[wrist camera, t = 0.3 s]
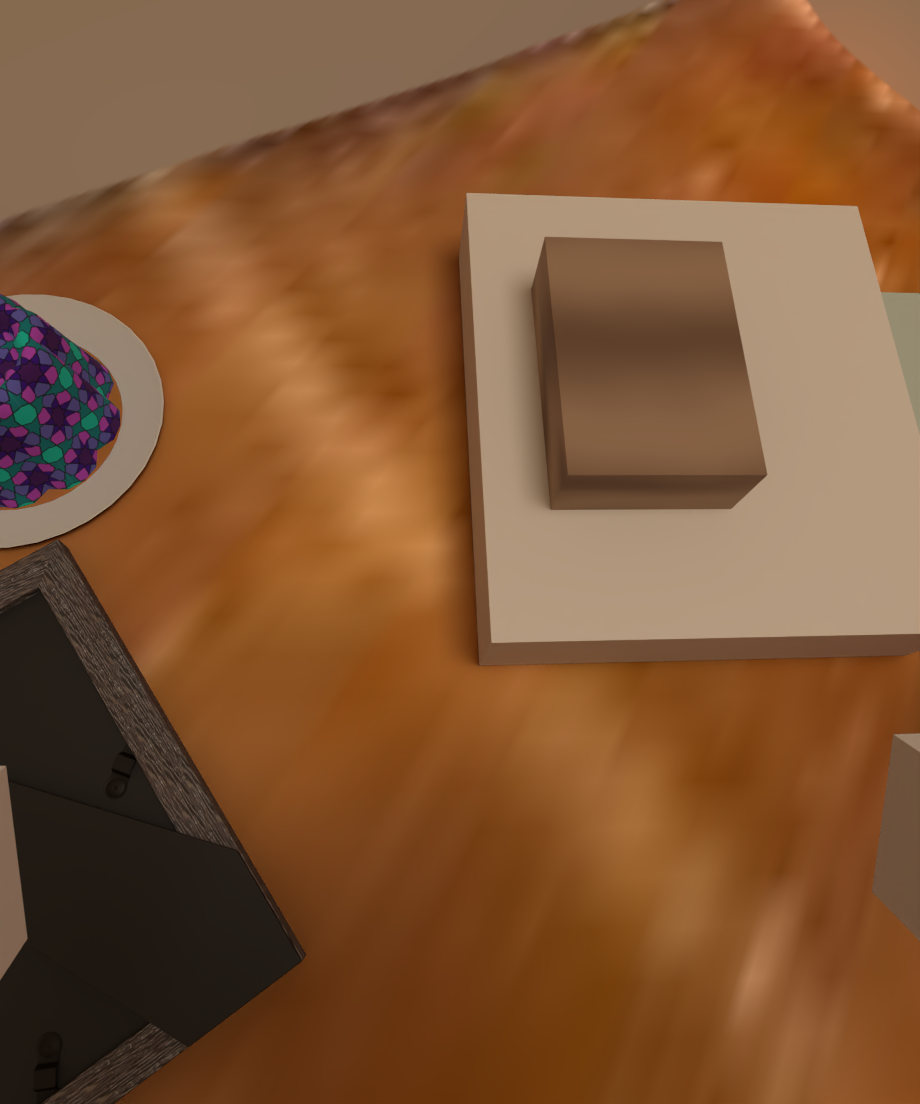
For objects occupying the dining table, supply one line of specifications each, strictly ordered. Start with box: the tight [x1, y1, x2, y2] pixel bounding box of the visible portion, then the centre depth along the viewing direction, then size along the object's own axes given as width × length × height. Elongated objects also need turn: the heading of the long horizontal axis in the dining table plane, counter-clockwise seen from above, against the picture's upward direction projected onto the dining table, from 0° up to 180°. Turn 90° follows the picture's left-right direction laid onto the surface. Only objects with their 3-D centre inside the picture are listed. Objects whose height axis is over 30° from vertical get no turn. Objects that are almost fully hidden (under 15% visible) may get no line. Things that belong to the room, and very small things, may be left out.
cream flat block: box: [459, 193, 920, 666], centre depth 33 cm, size 20×18×4 cm
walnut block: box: [531, 237, 767, 510], centre depth 29 cm, size 10×7×3 cm
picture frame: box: [0, 539, 306, 1104], centre depth 26 cm, size 13×2×18 cm
